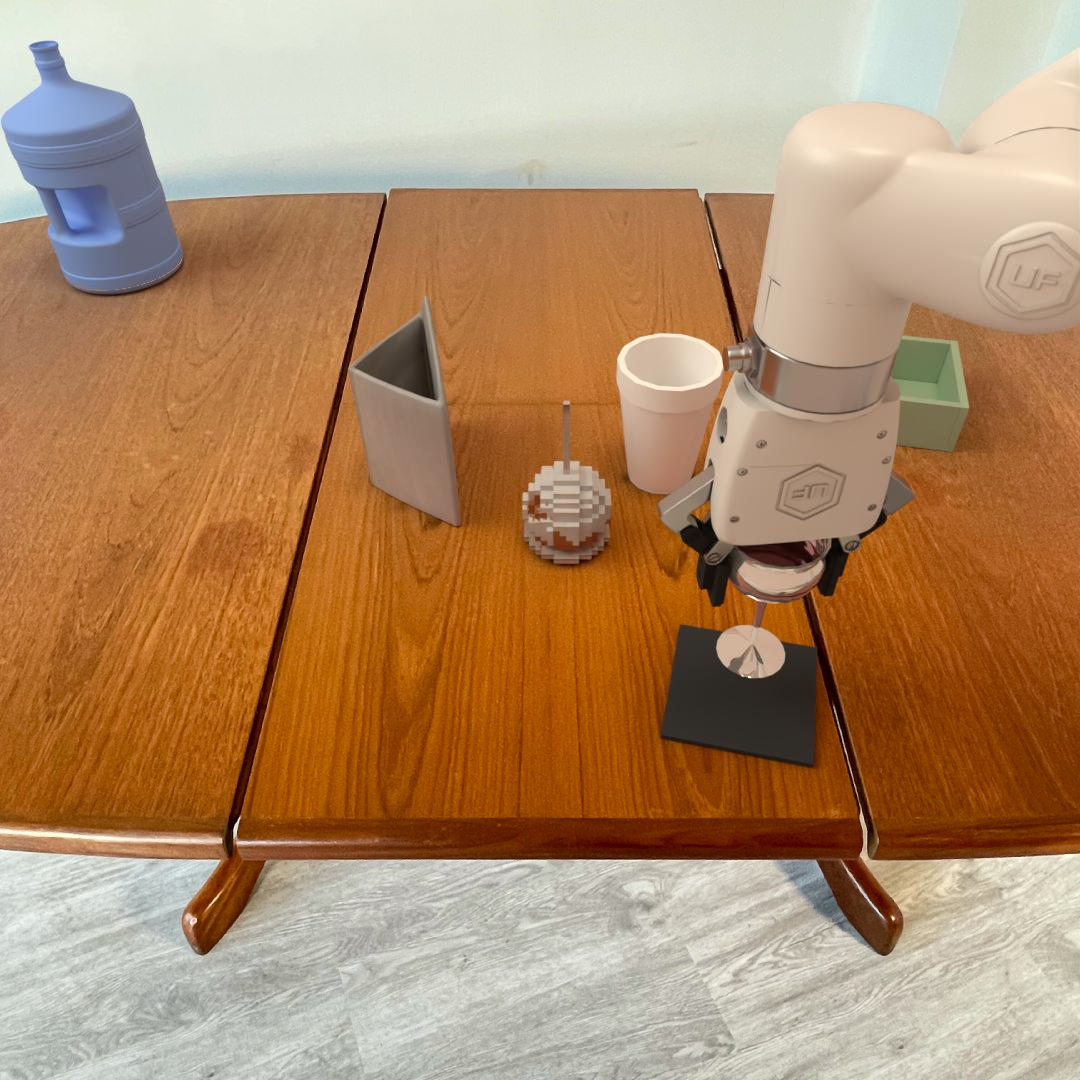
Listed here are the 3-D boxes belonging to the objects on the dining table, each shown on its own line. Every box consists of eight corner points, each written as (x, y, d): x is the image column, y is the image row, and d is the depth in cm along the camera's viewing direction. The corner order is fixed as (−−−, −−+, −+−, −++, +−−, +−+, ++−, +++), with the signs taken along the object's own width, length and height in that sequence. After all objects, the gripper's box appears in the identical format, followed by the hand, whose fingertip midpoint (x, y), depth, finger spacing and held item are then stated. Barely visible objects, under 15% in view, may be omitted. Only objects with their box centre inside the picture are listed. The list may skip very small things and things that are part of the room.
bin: (942, 383, 97) (957, 340, 94) (952, 452, 89) (969, 408, 85) (825, 370, 100) (835, 328, 96) (824, 436, 91) (835, 392, 87)
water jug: (140, 234, 129) (64, 19, 110) (209, 262, 122) (141, 37, 103) (43, 277, 120) (-58, 51, 101) (112, 309, 113) (18, 73, 94)
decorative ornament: (526, 509, 84) (520, 375, 73) (607, 509, 83) (613, 375, 73) (522, 567, 78) (515, 431, 68) (610, 568, 78) (616, 432, 67)
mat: (816, 651, 71) (817, 647, 70) (812, 768, 63) (814, 764, 63) (679, 627, 73) (680, 623, 72) (660, 738, 65) (660, 734, 65)
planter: (366, 435, 93) (331, 263, 79) (440, 424, 94) (419, 253, 80) (377, 539, 81) (339, 358, 68) (462, 526, 82) (441, 345, 69)
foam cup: (654, 433, 92) (664, 322, 83) (726, 472, 87) (745, 359, 78) (592, 474, 87) (596, 362, 78) (665, 518, 82) (677, 404, 73)
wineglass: (685, 653, 64) (703, 535, 56) (737, 602, 68) (761, 483, 60) (765, 704, 61) (796, 587, 53) (815, 648, 64) (852, 529, 56)
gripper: (674, 413, 44) (650, 641, 56) (1007, 386, 45) (912, 616, 57) (645, 335, 49) (629, 559, 62) (944, 313, 50) (869, 537, 63)
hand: (766, 584), depth 59 cm, fingers closed on wineglass, 6 cm apart
